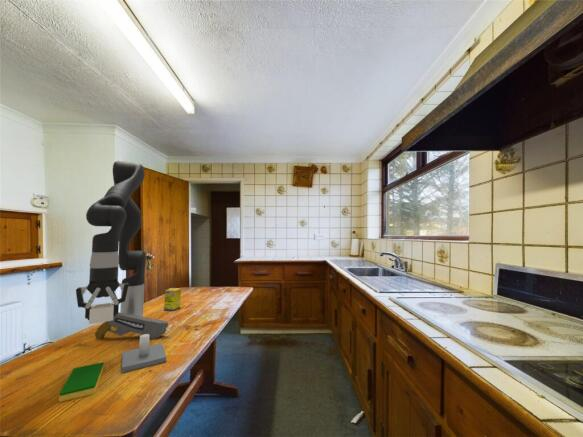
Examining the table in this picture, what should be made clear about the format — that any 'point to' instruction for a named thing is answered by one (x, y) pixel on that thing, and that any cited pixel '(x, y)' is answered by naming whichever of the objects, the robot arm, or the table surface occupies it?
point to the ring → (101, 312)
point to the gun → (132, 326)
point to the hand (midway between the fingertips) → (102, 317)
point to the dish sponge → (81, 382)
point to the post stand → (143, 355)
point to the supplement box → (172, 299)
